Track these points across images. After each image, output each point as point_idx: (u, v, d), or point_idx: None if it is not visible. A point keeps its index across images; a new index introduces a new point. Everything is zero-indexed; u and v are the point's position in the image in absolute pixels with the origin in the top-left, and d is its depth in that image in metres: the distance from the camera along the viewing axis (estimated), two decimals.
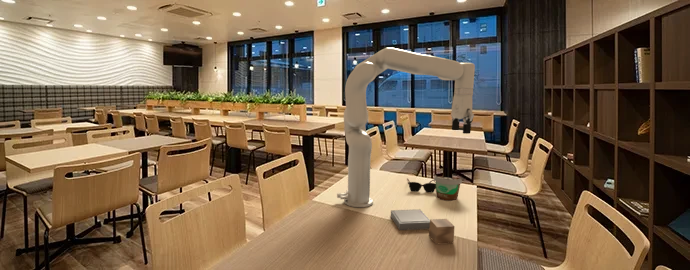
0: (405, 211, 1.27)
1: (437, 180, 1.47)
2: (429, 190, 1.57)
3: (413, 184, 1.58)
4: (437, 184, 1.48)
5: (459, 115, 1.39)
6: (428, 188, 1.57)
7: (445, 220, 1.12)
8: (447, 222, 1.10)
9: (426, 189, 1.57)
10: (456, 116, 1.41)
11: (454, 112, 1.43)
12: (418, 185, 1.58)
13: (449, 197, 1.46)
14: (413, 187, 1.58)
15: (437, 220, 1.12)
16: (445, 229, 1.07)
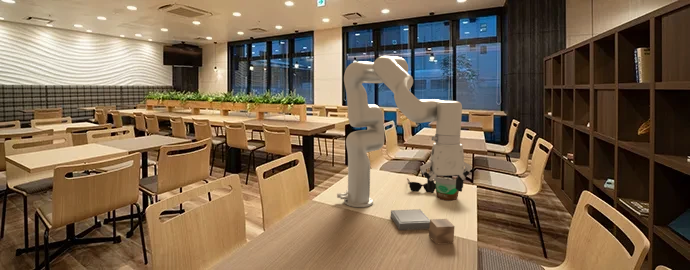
0: (405, 211, 1.27)
1: (437, 180, 1.47)
2: None
3: (413, 184, 1.58)
4: (437, 184, 1.48)
5: (458, 170, 1.04)
6: None
7: (445, 220, 1.12)
8: (447, 222, 1.10)
9: (426, 189, 1.58)
10: (451, 173, 1.04)
11: (445, 168, 1.03)
12: (418, 185, 1.58)
13: (449, 197, 1.46)
14: (413, 187, 1.58)
15: (437, 220, 1.12)
16: (445, 229, 1.07)
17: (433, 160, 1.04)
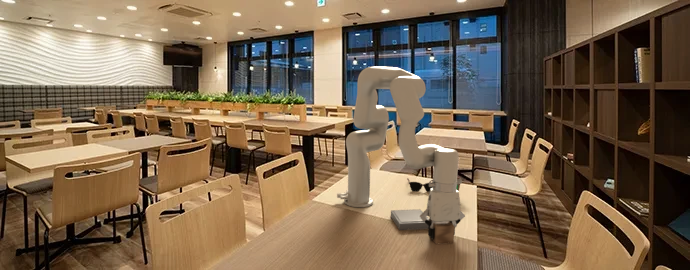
0: (405, 211, 1.27)
1: None
2: None
3: (414, 184, 1.58)
4: None
5: (455, 216, 1.07)
6: (429, 188, 1.58)
7: None
8: (447, 221, 1.10)
9: (427, 189, 1.58)
10: (447, 219, 1.07)
11: (442, 215, 1.06)
12: (419, 185, 1.58)
13: None
14: (414, 187, 1.58)
15: None
16: (445, 228, 1.07)
17: (430, 206, 1.07)
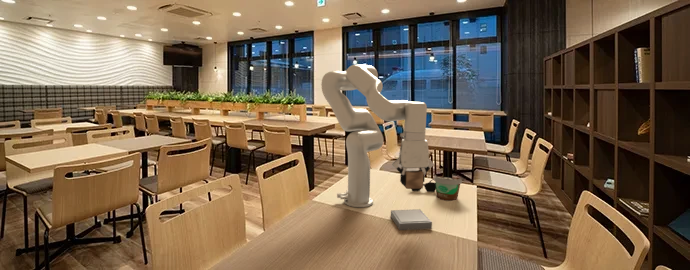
0: (405, 211, 1.27)
1: (437, 180, 1.47)
2: (430, 189, 1.58)
3: None
4: (437, 184, 1.48)
5: (424, 164, 1.17)
6: (429, 188, 1.58)
7: (416, 169, 1.22)
8: (418, 169, 1.21)
9: (427, 188, 1.58)
10: (417, 166, 1.17)
11: (412, 162, 1.17)
12: None
13: (449, 197, 1.46)
14: None
15: (409, 168, 1.22)
16: (415, 174, 1.17)
17: (401, 154, 1.17)
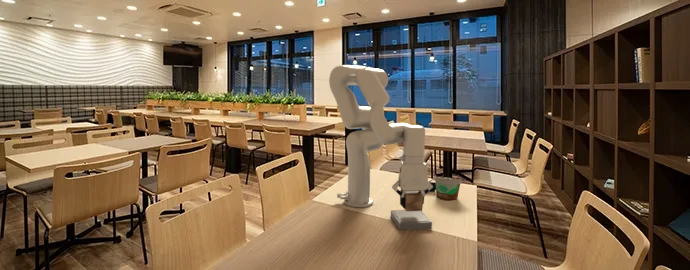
0: (405, 211, 1.27)
1: (437, 180, 1.47)
2: None
3: None
4: (437, 184, 1.48)
5: (423, 186, 1.19)
6: None
7: (415, 191, 1.23)
8: (417, 192, 1.22)
9: None
10: (416, 188, 1.18)
11: (411, 185, 1.18)
12: None
13: (449, 197, 1.46)
14: None
15: None
16: (414, 197, 1.19)
17: (400, 177, 1.19)
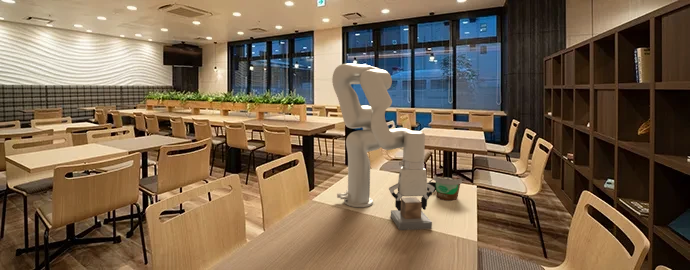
0: None
1: (437, 180, 1.47)
2: None
3: None
4: (437, 184, 1.48)
5: (422, 192, 1.19)
6: None
7: (414, 198, 1.24)
8: (416, 199, 1.23)
9: (428, 188, 1.58)
10: (416, 194, 1.19)
11: (410, 190, 1.18)
12: None
13: (449, 197, 1.46)
14: None
15: (407, 198, 1.24)
16: (413, 205, 1.19)
17: (400, 182, 1.19)
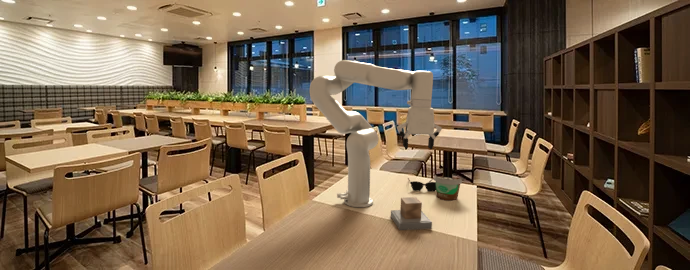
0: None
1: (437, 180, 1.47)
2: (431, 189, 1.59)
3: (415, 183, 1.59)
4: (437, 184, 1.48)
5: (429, 130, 1.23)
6: (430, 187, 1.59)
7: (414, 198, 1.24)
8: (416, 199, 1.23)
9: (428, 188, 1.59)
10: (423, 132, 1.23)
11: (417, 128, 1.23)
12: (420, 184, 1.59)
13: (449, 197, 1.46)
14: (415, 187, 1.59)
15: (407, 198, 1.24)
16: (413, 205, 1.19)
17: (407, 121, 1.23)
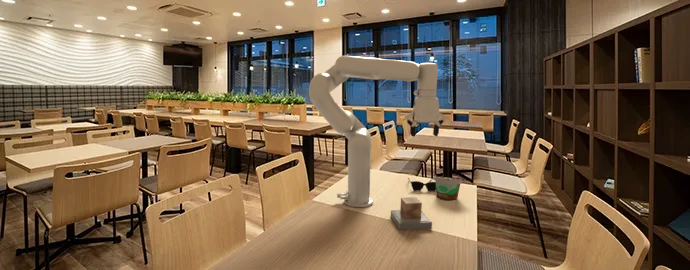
0: None
1: (437, 180, 1.47)
2: (431, 189, 1.59)
3: (415, 183, 1.59)
4: (437, 184, 1.48)
5: (435, 118, 1.32)
6: (430, 187, 1.59)
7: (414, 198, 1.24)
8: (416, 199, 1.23)
9: (428, 188, 1.59)
10: (429, 120, 1.32)
11: (424, 116, 1.31)
12: (420, 184, 1.59)
13: (449, 197, 1.46)
14: (415, 187, 1.59)
15: (407, 198, 1.24)
16: (413, 205, 1.19)
17: (415, 110, 1.32)
